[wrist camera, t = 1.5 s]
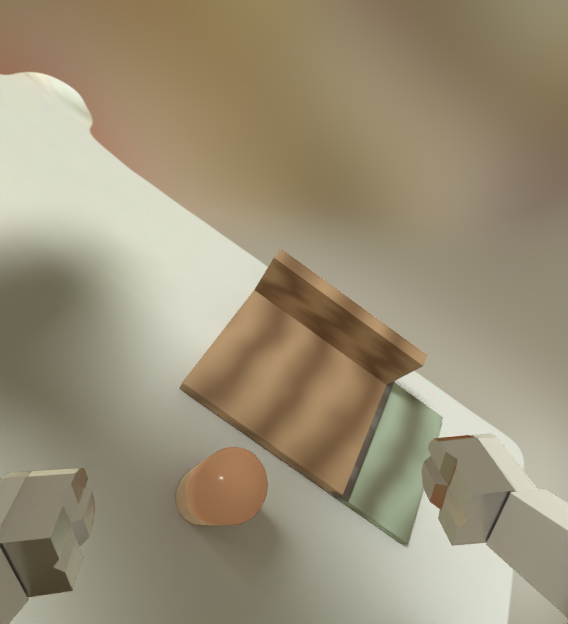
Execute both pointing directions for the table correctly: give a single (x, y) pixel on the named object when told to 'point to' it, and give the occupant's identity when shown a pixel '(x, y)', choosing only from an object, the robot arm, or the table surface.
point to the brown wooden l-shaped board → (323, 393)
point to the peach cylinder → (223, 489)
